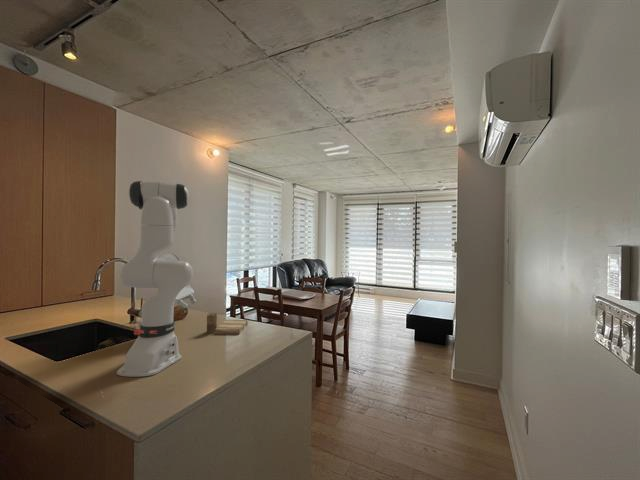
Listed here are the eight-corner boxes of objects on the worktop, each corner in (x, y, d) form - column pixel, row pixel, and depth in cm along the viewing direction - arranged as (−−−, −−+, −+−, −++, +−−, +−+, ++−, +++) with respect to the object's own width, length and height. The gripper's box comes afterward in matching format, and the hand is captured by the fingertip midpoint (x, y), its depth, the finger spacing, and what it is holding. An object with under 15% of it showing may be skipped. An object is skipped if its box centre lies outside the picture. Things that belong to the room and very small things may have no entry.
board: (239, 334, 145) (239, 329, 145) (215, 333, 145) (215, 328, 145) (247, 324, 161) (247, 320, 161) (226, 324, 161) (226, 319, 161)
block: (213, 333, 146) (214, 315, 146) (206, 332, 146) (206, 315, 146) (216, 330, 150) (216, 313, 149) (209, 330, 150) (209, 313, 149)
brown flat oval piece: (161, 324, 160) (161, 308, 160) (159, 323, 162) (159, 308, 162) (188, 318, 172) (188, 304, 172) (185, 317, 174) (185, 303, 174)
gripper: (165, 284, 137) (186, 305, 137) (185, 278, 158) (203, 296, 158) (156, 293, 137) (176, 314, 137) (177, 286, 158) (195, 304, 158)
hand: (191, 304), depth 148 cm, fingers open, 8 cm apart
